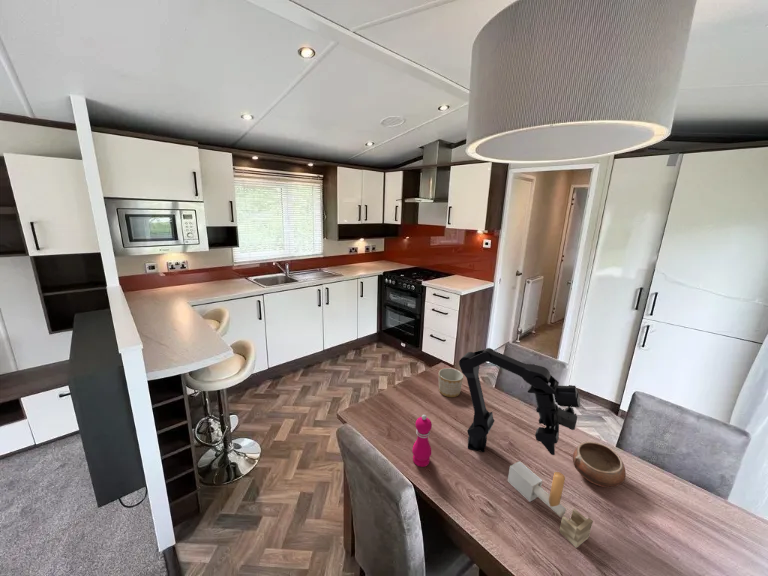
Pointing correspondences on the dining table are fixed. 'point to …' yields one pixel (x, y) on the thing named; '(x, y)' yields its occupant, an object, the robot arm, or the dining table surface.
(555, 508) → the multicoloured piece
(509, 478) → the outer sleeve
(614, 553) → the dining table surface
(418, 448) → the pepper mill
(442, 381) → the planter
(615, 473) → the bowl
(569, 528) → the end socket
